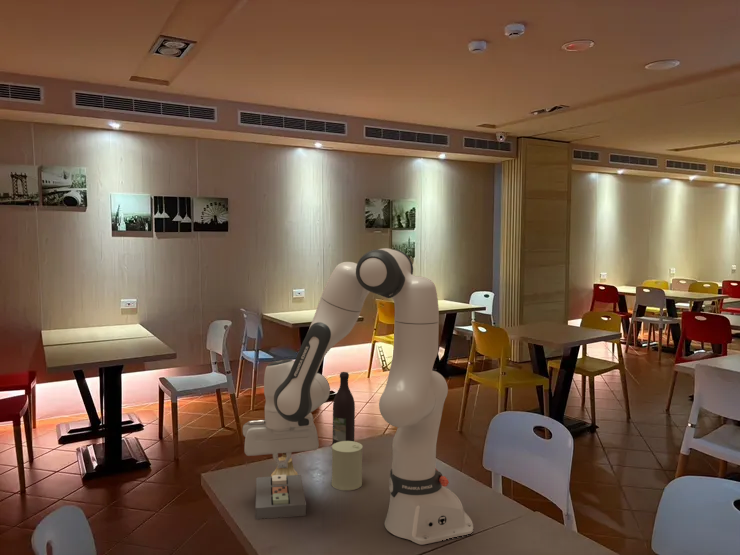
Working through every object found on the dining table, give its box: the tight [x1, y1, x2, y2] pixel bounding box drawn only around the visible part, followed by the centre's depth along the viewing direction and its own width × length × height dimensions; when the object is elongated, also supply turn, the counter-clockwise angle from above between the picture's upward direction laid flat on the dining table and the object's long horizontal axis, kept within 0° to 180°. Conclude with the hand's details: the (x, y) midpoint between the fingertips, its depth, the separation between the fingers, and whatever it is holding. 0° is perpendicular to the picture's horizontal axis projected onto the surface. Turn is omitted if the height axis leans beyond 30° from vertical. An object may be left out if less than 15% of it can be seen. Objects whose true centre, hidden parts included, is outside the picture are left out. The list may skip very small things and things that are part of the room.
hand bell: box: [270, 453, 299, 477], centre depth 173 cm, size 8×8×16 cm
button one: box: [272, 475, 287, 485], centre depth 163 cm, size 4×4×3 cm
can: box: [330, 440, 364, 492], centre depth 169 cm, size 9×9×12 cm
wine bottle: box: [332, 371, 356, 445], centre depth 183 cm, size 7×7×30 cm
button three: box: [272, 486, 287, 495], centre depth 157 cm, size 4×4×3 cm
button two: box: [273, 493, 288, 505], centre depth 151 cm, size 4×4×3 cm
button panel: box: [255, 474, 307, 520], centre depth 157 cm, size 13×19×3 cm
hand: (282, 467), depth 156 cm, fingers closed
